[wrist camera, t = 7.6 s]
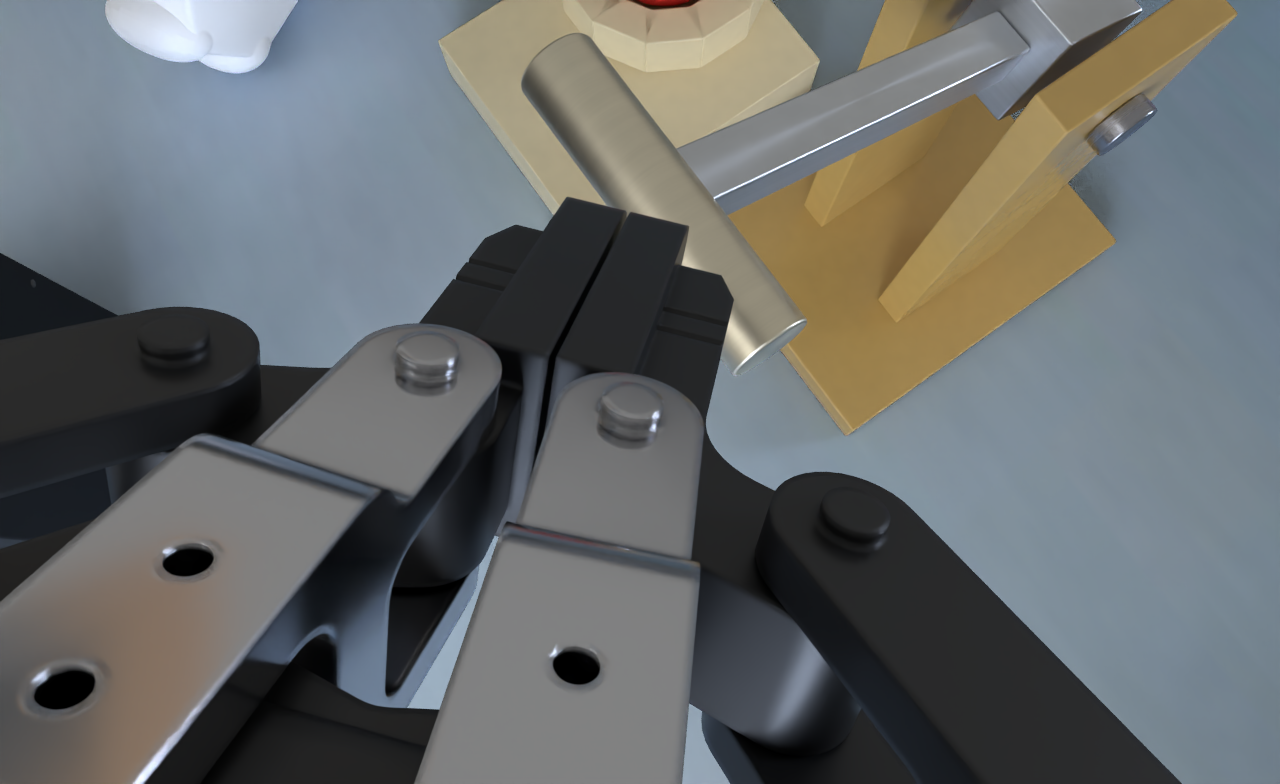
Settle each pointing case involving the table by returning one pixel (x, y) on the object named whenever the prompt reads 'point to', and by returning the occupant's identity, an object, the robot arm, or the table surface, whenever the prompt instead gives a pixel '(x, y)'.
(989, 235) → the bracket
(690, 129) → the button box
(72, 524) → the tissue box
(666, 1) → the button
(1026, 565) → the table surface
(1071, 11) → the tap lever
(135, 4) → the dog bone
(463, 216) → the table surface
